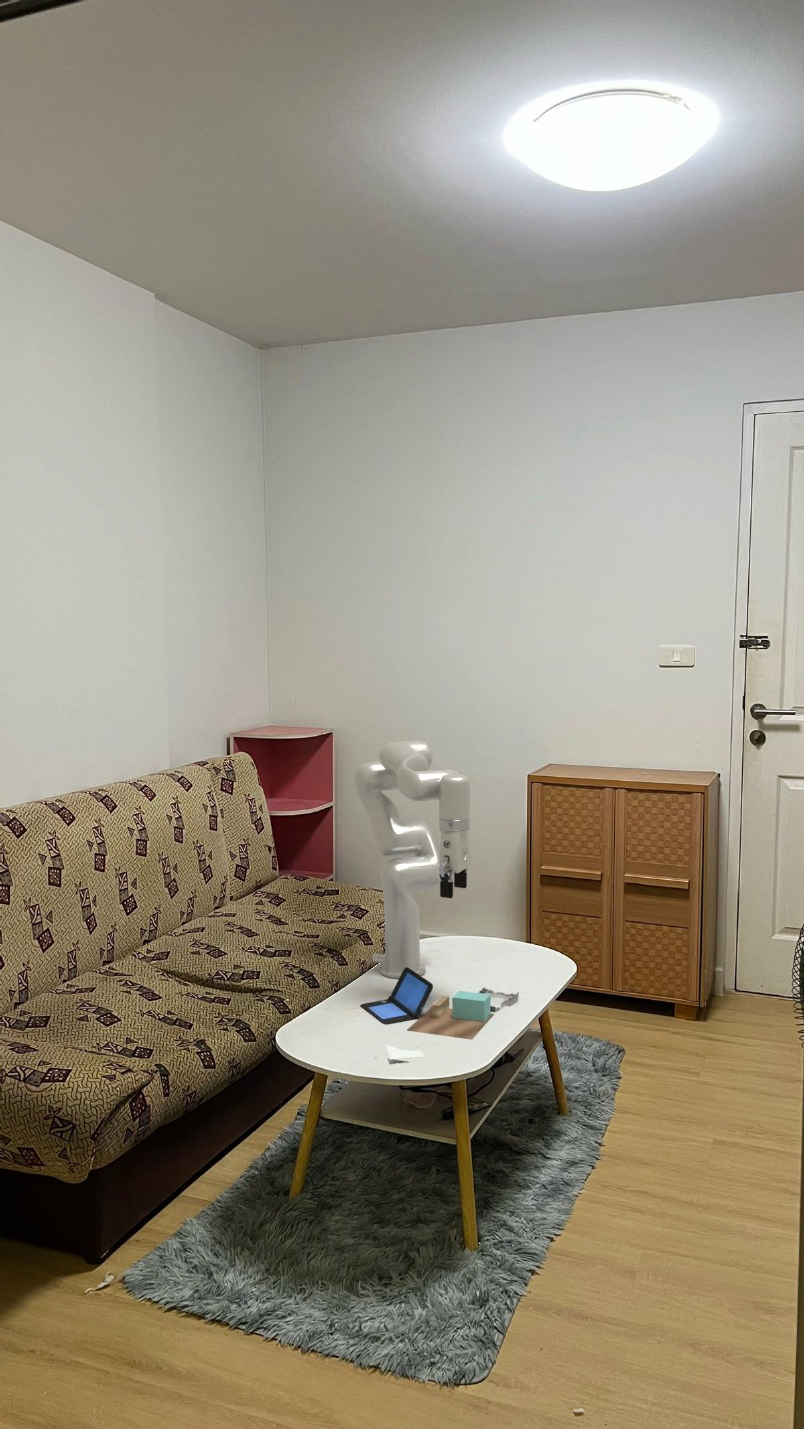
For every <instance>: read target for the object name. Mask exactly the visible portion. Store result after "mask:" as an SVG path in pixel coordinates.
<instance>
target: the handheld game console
mask: <svg viewBox="0 0 804 1429" xmlns="http://www.w3.org/2000/svg"><path fill="white" fill-rule="evenodd" d="M433 989H434V984H433V983H432V982H430V981H429V980H427V978H424V977H423V975H421V976H420V975H419V974H417V973H416V972H414V971H413V970H411V969H410V968H408V967H406V968H405V969H404V970H403V972H402V974H401V976H400V978H398V980H397V982H396V984H395V985H394V988H393V990H392V991H391V994H390V995H389V996H388V998H387V999H381V1000H376V1001H370V1002H365V1003H361V1004H360V1005H359V1006H360V1008H361V1009H362V1010H364V1011H365V1012H366V1013H368V1014H369V1015H370V1016H372V1017H373V1018H375V1019H376V1020H377V1021H378V1022H380V1024H383V1025H385V1026H387V1025H392V1024H393V1025H394V1024H399V1023H404V1022H410V1021H414V1020H415V1021H417V1020H418V1019H419V1018H420V1017H419V1016H420V1015H421V1013H422V1011H423V1010H424V1008H425V1005H426V1003H427V1001H428V1000H429V998H430V995H431V994H432V991H433Z"/></svg>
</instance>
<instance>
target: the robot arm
mask: <svg viewBox="0 0 804 1429" xmlns="http://www.w3.org/2000/svg"><path fill="white" fill-rule="evenodd" d="M378 758H379V760H372V761H367V762H364V763H362V764H360V765H359V766H358V767H357V769H356V770H355V772H354V787H355V792H356V795H357V797H358V799H359V801H360V803H361V805H362V807H363V808H364V810H365V812H366V814H367V817H368V820H369V824H370V827H371V831H372V833H373V837H374V841H375V844H376V846H377V849H378V852H379V853H380V855H382V856H383V857H386V858H392V859H390V860H387V861H386V862H384V864H383V865H382V866H381V868H380V881H381V887H382V893H383V902H384V904H383V905H384V950H385V951H384V952H385V953H383V954H381V953H372V957H371V958H372V962H373V963H375V964H376V963H377V964H378V963H379V964H380V965H381V966H380V967H379V973H380V974H381V975H382V976H384V977H388V978H392V979H399V978H400V976H401V974H402V972H403V970H404V969H405V968H406V967H408V968H410V969H411V970H413V971H414V972H416V973H417V974H419V975H420V976H423V975H424V974H425V973H426V971H427V969H426V968H427V967H426V965H424V964H423V963H421V951H420V950H421V948H420V947H421V944H420V942H421V940H420V939H421V938H420V932H421V931H420V907H419V905H418V903H417V902H416V901H417V900H415V899H414V897H413V896H412V893H415V892H421V891H422V892H423V891H429V890H435V889H437V888H439V896H440V897H441V898H446V899H452V898H454V888H457V889H458V888H460V889H466V888H467V886H468V885H467V884H468V882H467V881H468V873H467V872H468V867H469V866H470V864H471V845H470V844H471V843H470V834H469V832H470V817H471V816H470V810H471V808H470V807H471V806H470V805H471V804H470V802H471V799H470V798H471V796H470V794H471V791H470V790H471V781H470V779H469V777H468V776H467V775H465V774H461V773H459V772H458V771H457V770H454V769H452V768H448V769H447V768H446V769H445V768H444V769H431V770H429V769H430V768H431V766H432V763H433V753H432V749H431V747H430V745H429V744H428V743H427V742H426V741H423V740H419V739H417V740H416V739H415V740H401V741H390V742H388V743H386V744H384V746H382V747H381V749H380V751H379V753H378ZM392 790H399V792H400V793H401V794H402V795H403V796H405V797H406V798H408V799H410V800H412V801H414V802H415V801H416V802H426V801H427V802H428V801H436V800H438V801H439V802H438V816H439V817H438V831H439V832H440V843H439V851H438V848H437V845H436V842H435V839H434V836H433V833H432V831H431V828H430V827H429V826H428V824H427V823H426V822H425V821H422V820H405V821H404V820H403V819H402V818H401V816H400V813H399V809H398V807H397V805H396V804H395V803H394V801H393V800H392V799H391V798H390V797H389V796H387V795H386V794H384V793H383V791H392ZM405 856H406V857H405ZM394 857H397V858H394ZM453 878H454V880H453Z"/></svg>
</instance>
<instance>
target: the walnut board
mask: <svg viewBox="0 0 804 1429" xmlns="http://www.w3.org/2000/svg"><path fill="white" fill-rule="evenodd" d="M494 1015H495V1013H491V1015H490V1016H489V1017H488V1018H487V1020H486V1021H485V1022H481V1021H473V1020H465V1019H457V1018H452V1008H451V1007H450V996H448V995H441V996H439V997H438V999H436V1000H435V1001H434V1002H433V1003H432V1004H431V1006H430V1007H429V1009H427V1010H426V1011H425V1012H424V1013H423V1014H422V1015H421V1016H420V1017H419V1019H417V1020H415V1021H414V1023H412V1025H411V1026H410V1027H408V1028H407V1029H406V1031H408V1032H415V1033H421V1034H422V1033H423V1034H428V1035H437V1036H444V1037H450V1038H451V1037H452V1038H457V1039H465V1040H473V1039H474V1038H475V1037H476V1036H477V1035H478V1034H479V1033H480V1031H481V1030H482V1029H483V1028H484V1027H485V1026H486V1024H487V1023H488V1022H489V1021H490V1020H491V1019H492V1018H493V1017H494Z"/></svg>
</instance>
